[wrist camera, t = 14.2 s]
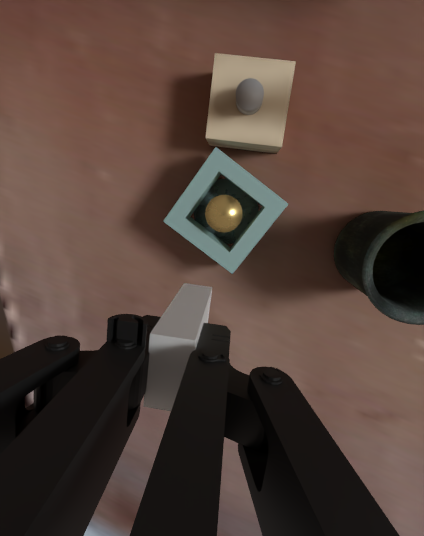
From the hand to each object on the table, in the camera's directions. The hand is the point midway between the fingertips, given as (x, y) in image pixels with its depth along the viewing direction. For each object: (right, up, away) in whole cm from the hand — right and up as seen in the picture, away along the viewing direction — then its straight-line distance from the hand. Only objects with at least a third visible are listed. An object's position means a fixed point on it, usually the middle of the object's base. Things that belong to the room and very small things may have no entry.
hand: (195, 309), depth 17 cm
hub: (+3, +10, +25) cm, 27 cm away
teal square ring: (+3, +9, +23) cm, 25 cm away
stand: (+5, +21, +22) cm, 31 cm away
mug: (+23, +5, +24) cm, 34 cm away
